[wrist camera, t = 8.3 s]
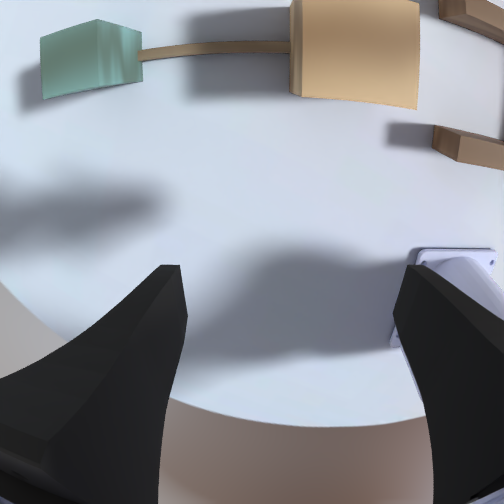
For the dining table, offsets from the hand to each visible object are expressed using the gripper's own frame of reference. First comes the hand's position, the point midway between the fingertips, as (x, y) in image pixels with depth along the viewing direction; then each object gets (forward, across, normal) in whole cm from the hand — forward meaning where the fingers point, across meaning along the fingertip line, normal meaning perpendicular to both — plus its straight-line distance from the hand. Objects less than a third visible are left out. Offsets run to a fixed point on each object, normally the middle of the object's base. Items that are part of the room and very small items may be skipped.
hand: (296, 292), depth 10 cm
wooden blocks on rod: (+10, +2, -8) cm, 13 cm away
